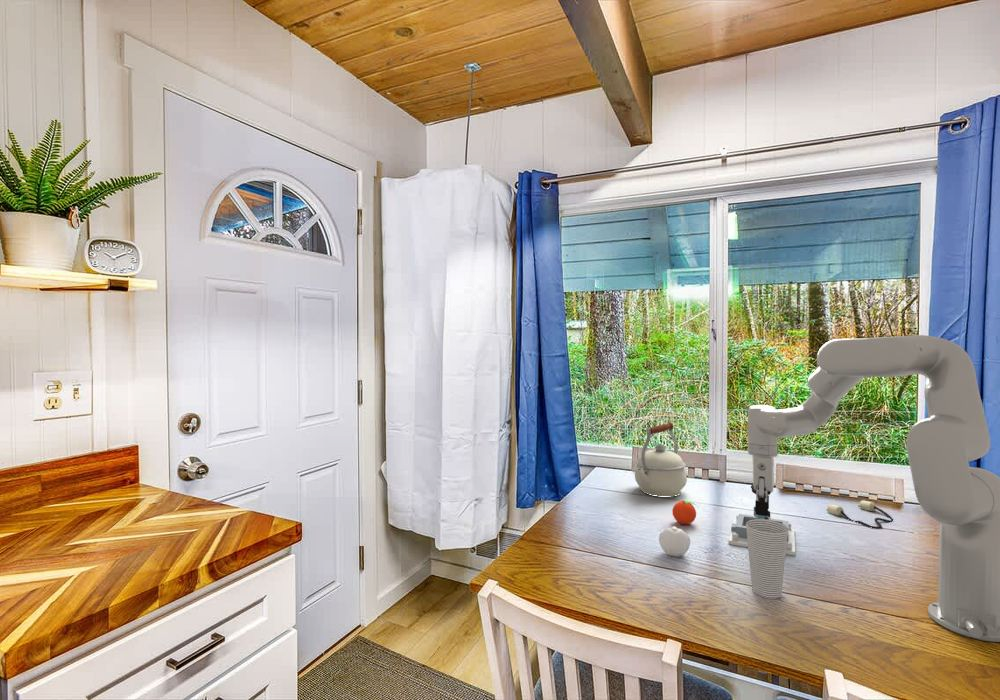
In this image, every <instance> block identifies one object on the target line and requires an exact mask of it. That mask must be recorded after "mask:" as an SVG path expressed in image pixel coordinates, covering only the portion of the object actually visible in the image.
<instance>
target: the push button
mask: <svg viewBox="0 0 1000 700" xmlns="http://www.w3.org/2000/svg"><path fill="white" fill-rule="evenodd" d="M750 488H751V492H752V494H755V495H756V490H754V485H753V484H751V485H750ZM758 490H759V488H758ZM764 491H766V489H765V488H764ZM767 491H768V490H767ZM764 494H765V493H764ZM768 495H769V496H770V495H771V492H770V491H768V493H767V496H768ZM753 516H755V517H756V518H759V519H767V520H769V519H770V518H771V511H770V510H768V516H762V515H756V514H755V506H753Z"/></svg>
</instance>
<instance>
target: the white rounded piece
mask: <svg viewBox="0 0 1000 700" xmlns="http://www.w3.org/2000/svg"><path fill="white" fill-rule="evenodd" d="M658 542H659V546H660V548H661V549H662V551H663V552H664V553H665V554H667V555H668V556H671V557H676V558H678V557H682V556H684V555H686V554H687V552H688V551H689V549H690V545H691V538H690V535H689V534H688V533H686V532H685V530H683V529H682V528H678V527H677V526H674V525H673V526H671V527H668V528H665V529H663V531H661V532H660V533H659V535H658Z"/></svg>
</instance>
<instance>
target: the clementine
mask: <svg viewBox="0 0 1000 700" xmlns="http://www.w3.org/2000/svg"><path fill="white" fill-rule="evenodd" d="M694 505H695V506H696V507H697V508H699V506H697V505H696V504H695V502H692V501H686V500H680V501H678V502H676V503H675V504H674V505H673V508H672V516H673V518H674V520H675V521H676V522H677V523H678V524H681V525H691V524H692V523H693V522H694V521H695V519H696V518H697V511H696V508H695V507H694Z"/></svg>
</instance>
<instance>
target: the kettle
mask: <svg viewBox="0 0 1000 700" xmlns="http://www.w3.org/2000/svg"><path fill="white" fill-rule="evenodd" d="M673 429H674V424H673V423H672V422H667V423H663V424H658V425H655V426H653V427H647V428H646V440H645V442H644V445H643V447H642V450H641V454H640V455H639V457H638V458H637V459H636V460H635V464H636V467H635V471H634V480H635V482H636V483H637V485H638V486H639V487H640V491H641V490H642V491H643V492H645V493H648V494H651V495H657V496H675V495H678V494H680V495H681V492H682V490H683V489H684V487H686V485H687V482H688V477H687V472H686V469H685V467H686V466H687V465H686V462H684V461H683V459H682V457H681V456H680V455H679V454H678V452H679V443H678V441H677V438H676V437H675V436H674V432H673ZM666 431H669V435H670V438H671V439H672V441H673V444H674V446H673V447H674V449H673V451H670V450H667V447H665V445H663V444H662V443H659V444H657V445H655V446H654V449H649V450H647V449H648V446H649V444H650V442H651V437H652V436H651V435H653V434H659V433H663V432H666ZM642 491H641V492H642ZM643 492H642V493H643ZM678 496H679V495H678Z"/></svg>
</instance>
